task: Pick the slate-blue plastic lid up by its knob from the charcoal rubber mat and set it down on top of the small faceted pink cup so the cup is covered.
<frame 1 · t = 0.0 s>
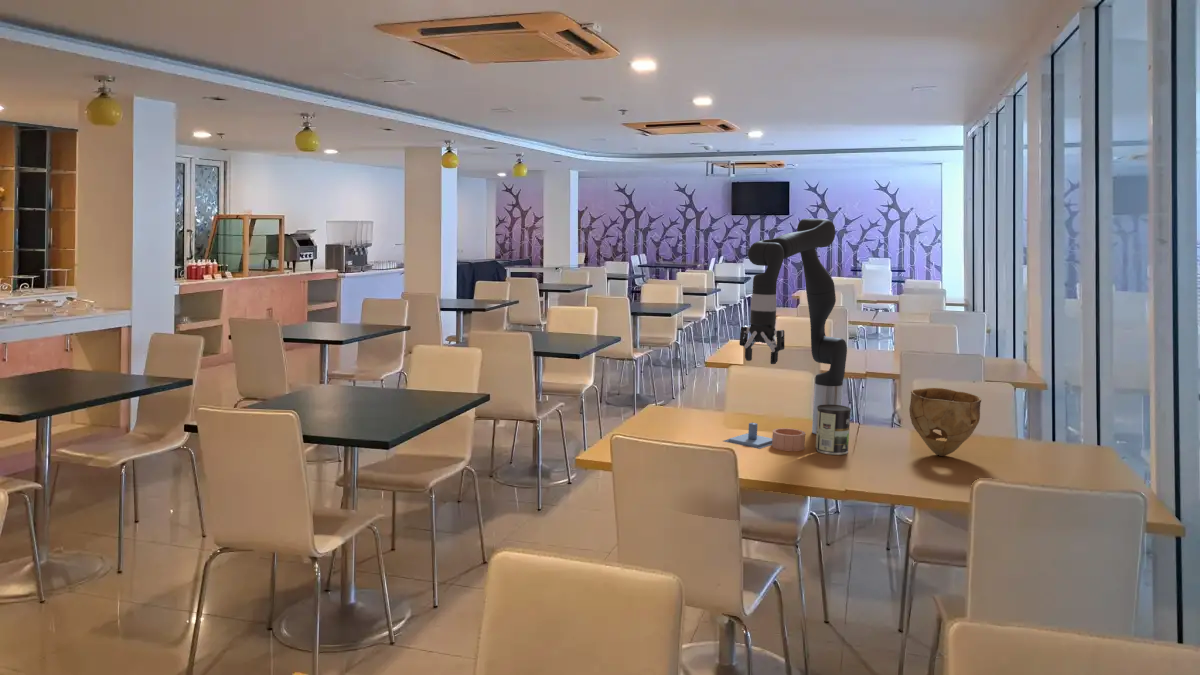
hand: (760, 362, 282), 29 cm above the table, fingers open, 8 cm apart
coffee can: (831, 451, 296), on the table
mat: (752, 443, 303), on the table
lid: (752, 441, 303), point 1 cm above the table, touching mat
faceted pink cup: (788, 448, 297), on the table
bowl: (940, 456, 293), on the table
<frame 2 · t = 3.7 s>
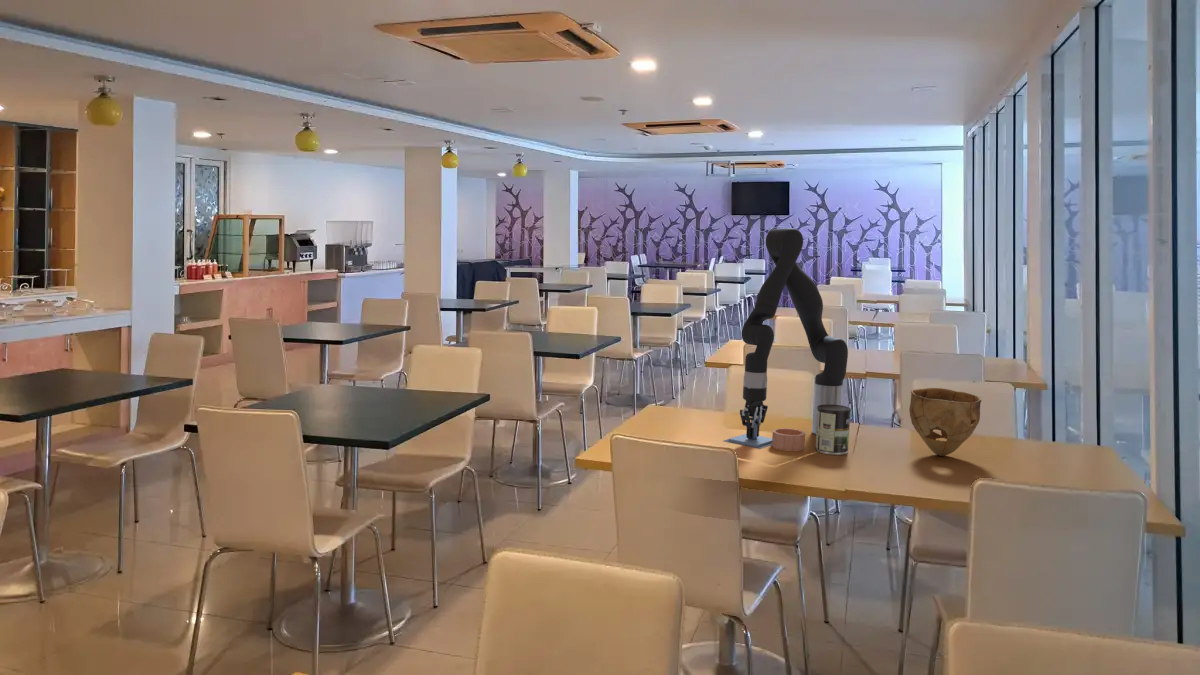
hand: (752, 437, 303), 2 cm above the table, fingers closed on lid, 2 cm apart
lid: (752, 441, 303), point 1 cm above the table, touching gripper, mat
everything else where it was.
when the fingers open (8 cm above the table, at t = 8.2 s): lid drops 1 cm, resting on faceted pink cup.
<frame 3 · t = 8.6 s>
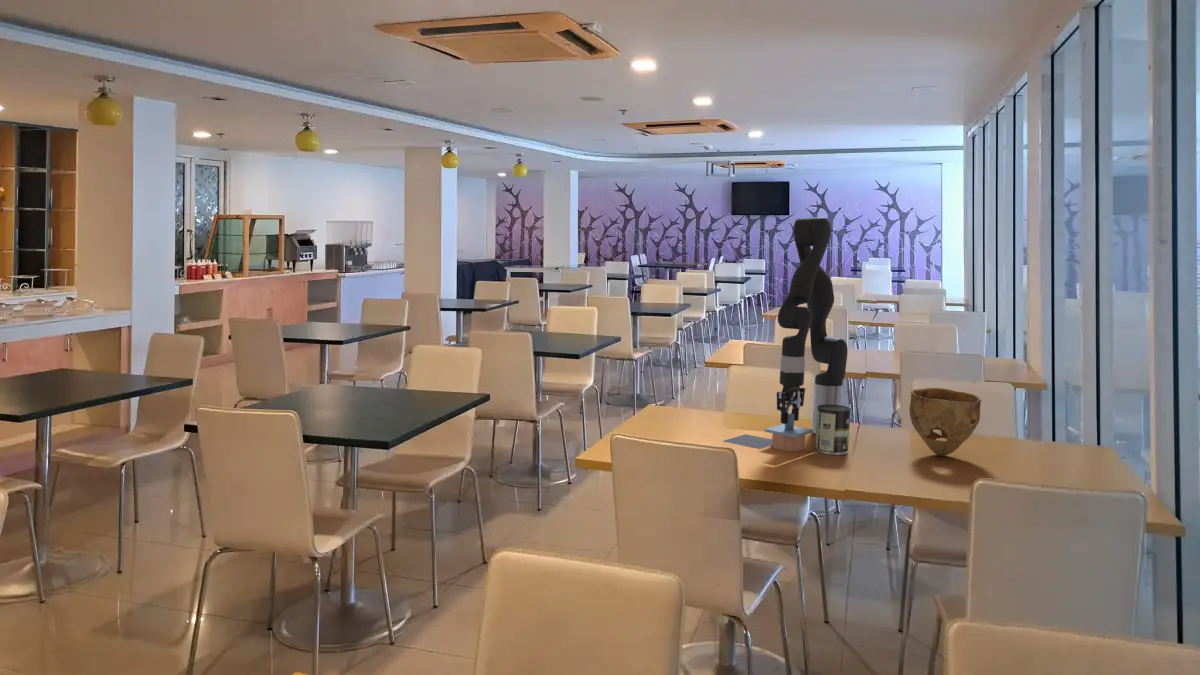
hand: (789, 421, 295), 9 cm above the table, fingers open, 6 cm apart
lid: (789, 431, 296), point 5 cm above the table, touching faceted pink cup
everything else where it was.
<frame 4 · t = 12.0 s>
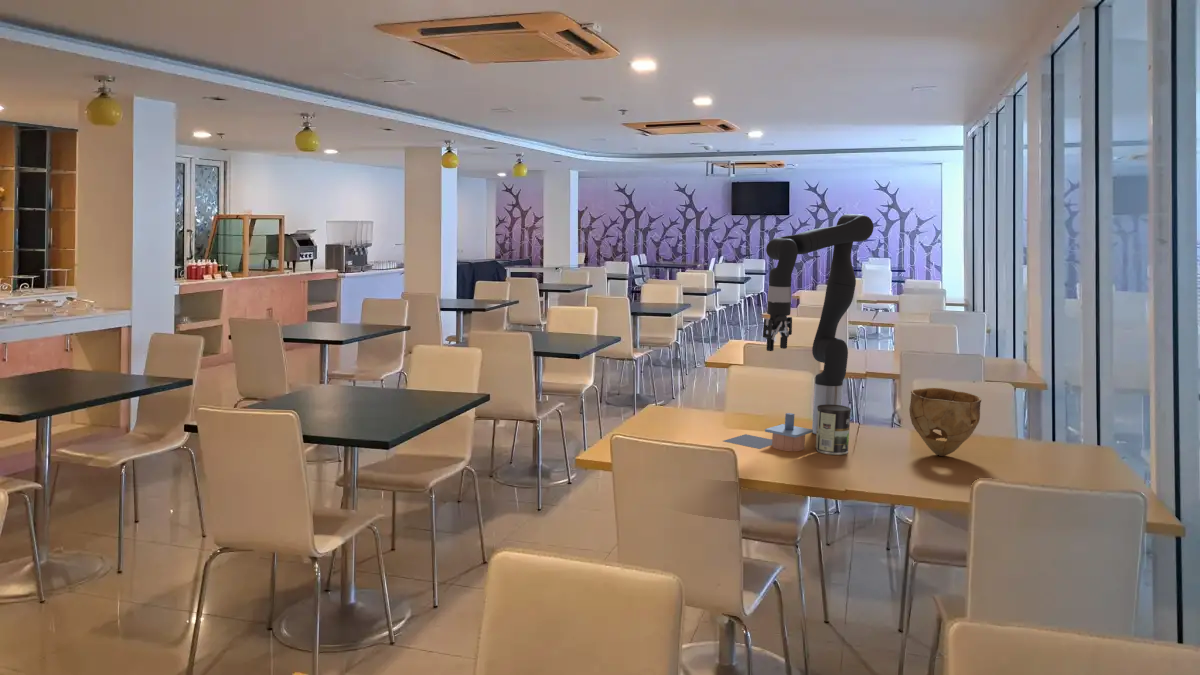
hand: (776, 349, 304), 30 cm above the table, fingers open, 8 cm apart
nothing on the table moved.
at the end: lid 0.1 cm off-centre on the faceted pink cup, point 5.5 cm above the faceted pink cup's base; lid tilted 0°; the gripper is holding nothing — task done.
